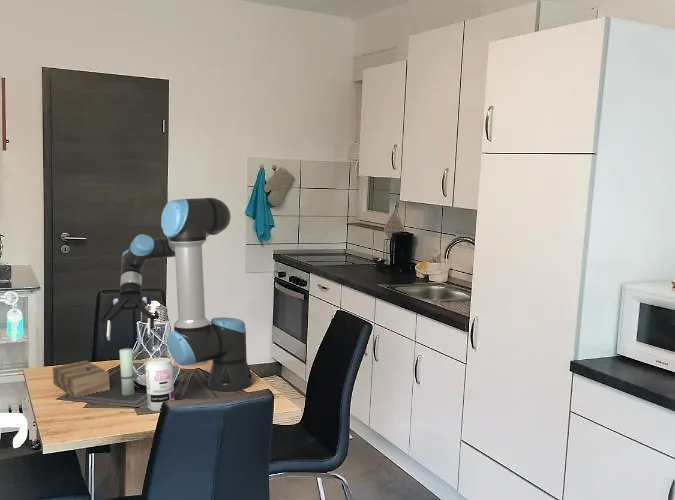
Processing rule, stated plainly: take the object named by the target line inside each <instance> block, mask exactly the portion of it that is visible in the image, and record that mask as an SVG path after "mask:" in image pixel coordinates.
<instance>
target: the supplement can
mask: <svg viewBox="0 0 675 500" xmlns="http://www.w3.org/2000/svg"><path fill="white" fill-rule="evenodd" d="M173 369H174V367H173V363H172V362H171V359H170V358H168V357H166V358H165V357H158V358H153V359H152V358H151V359H149V360H148V361H147V363H146V365H145V381H146V382H145V383H146V386H145V387H146V403H147V408H148V409H149V410H150V411H152V412H161V411H160V408H161V405H162V403H163V402H164V401H170V400H174V401H175V389H174V388H175V386H174V370H173Z"/></svg>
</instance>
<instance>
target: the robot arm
mask: <svg viewBox="0 0 675 500" xmlns="http://www.w3.org/2000/svg"><path fill="white" fill-rule="evenodd" d="M231 217H232V215H231V211H230V208H229V207H228V206H227V204H226V203H225V202H224V201H223V200H220V199H218V198H213V197H204V198H203V197H201V198H180V199H173V200H170V201H168V202H167V203H165V206H164V208H163V209H162V213H161V217H160V225H161V229H162V232H163V234H164V235H165V236H166V237H160V238H159V237H158V238H157V237H156V238H152V237H151V236H150V235H147V234H145V233H143V234H141V233H140V234H137V236H135V238H134V239H133V240H132V241H131V243H130V246H129V248H128V249H126V250H125V251H123V253H122V255H121V259H120V262H121V266H120V267H121V268H120V281H119V282H120V283H119V285H120V287H119V297H118V298H114V297H113V296H111V297H109V302H108V304H107V306H106V307H105V308H104V310H103V312H102V313H101V314H100V316H99V318H98V319H99V322H100V323H101V324H102V323H104V324H103V329H104V332H106V339H107V341H111V334H112V333H111V330H112V324H111V322H112V321H113V320H114V319H115V318H116V317H117V316H118V315H119V314H120V313H122V312H123V311H129V310H138V311H140V312H141V313H142V314H143V315H144V316H145V317H146V316H147V317H150V318H147V317H146V318H147V338H148V339H151V334H152V333H151V331H152V330H151V329H154V328H155V321H154V319H156V318H157V319H158V318H159V319H160V315H159V312H158V311H157V310H156V311H155V313H154V314H155V316H153V313H152V312H150V311H149V310H148V309H147V308H145V306H143V305H142V303H143V302H144V304H147V306H148V304H149V305H150V304H151V303H152V304H153V302H152V301H151V297H150V295H149V294H147V295H145V296H143V297H142V288H143V287H142V286H143V268H144V266H145V264H146V263H147V262H148V260H158V259H166V258H174V259H175V277H176V294H177V295H176V296H177V298H176V299H177V315H178V316H177V317H178V318H177V320H176V321H175V322H174V323H173V331H171V332H169V333H168V336H167V346H168V350H169V354H170V356H171V357H172V359H173V360H174V362H175V363H177V364H178V365H180V366H183V367H184V366H185V367H186V365H193V364H196V363H200V362H204V361H207V362H208V361H212V365H211V368H210V373H209V375H208V379H207V383H208V387H209V389H211V390H214V391H217V392H218V391H220V392H235V391H240V390H244V389H247V388H249V387H251V386H252V385H253V384H254V383H253V382H254V381H253V374H252V371H251V369H250V366H249V364H248V359H247V331H246V330H247V329H246V323H245V321H244V320H242V319H240V318H234V317H222V316H221V317H213V318H211V319H210V320H208V318H206V312H205V311H206V310H205V305H206V304H205V287H204V283H205V282H204V268H203V267H204V263H203V244H204V243H205V242H206V241H207V238H208V237H209V236H217V235H218V234H221V232H223V231H224V230H226V229H227V228H228V227H229V225H230V223H231ZM117 303H118V304H117ZM116 305H117V306H116ZM114 306H116V307H115V308H114ZM157 319H156V320H157ZM159 319H158V320H159Z"/></svg>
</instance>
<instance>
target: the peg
mask: <svg viewBox="0 0 675 500" xmlns="http://www.w3.org/2000/svg"><path fill="white" fill-rule="evenodd" d="M133 359H134V358H133V349H132V348H130V347H127V348H126V347H124V348H121V349H119V364H120V365H119V367H120V376H119V377H120V381H121V395H122V396H132V395H134V394H135V379H134V378H135V374H134V364H133V363H134V361H133Z"/></svg>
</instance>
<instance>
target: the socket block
mask: <svg viewBox="0 0 675 500" xmlns="http://www.w3.org/2000/svg"><path fill="white" fill-rule="evenodd" d="M52 375H53V384H54V385H55V386H56V387H58V388H59V389H61V390H62V391H64V393H66V394H67V395H69V394H70V395H69V396H71V397H72V396H73V398H74V399H76V397H77V398H80V396H81V397H85V395H86V396H89V395H88V394H90V395H93V394H92V393H94V394H97V393H96V392H98V393H102V392H106V390H107V391H110V390H111V386H110V372H108V371H107V370H105V369H103V368H101V367H99V366H98V365H96V364H93V363H92V362H90V361H89V360H82V361H78V362H73V363H72V362H71V363H68V364H64V365H63V364H61V365H59V366H58V365H57V366H53V367H52ZM101 391H102V392H101Z"/></svg>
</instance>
